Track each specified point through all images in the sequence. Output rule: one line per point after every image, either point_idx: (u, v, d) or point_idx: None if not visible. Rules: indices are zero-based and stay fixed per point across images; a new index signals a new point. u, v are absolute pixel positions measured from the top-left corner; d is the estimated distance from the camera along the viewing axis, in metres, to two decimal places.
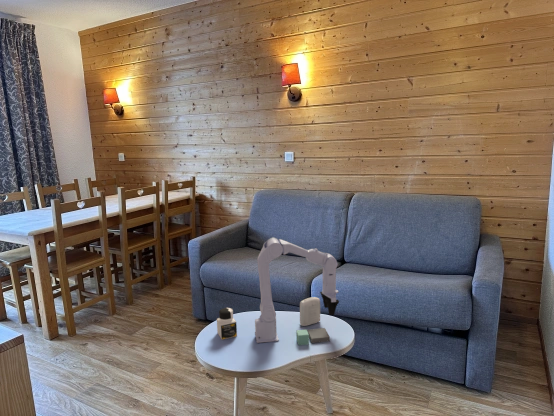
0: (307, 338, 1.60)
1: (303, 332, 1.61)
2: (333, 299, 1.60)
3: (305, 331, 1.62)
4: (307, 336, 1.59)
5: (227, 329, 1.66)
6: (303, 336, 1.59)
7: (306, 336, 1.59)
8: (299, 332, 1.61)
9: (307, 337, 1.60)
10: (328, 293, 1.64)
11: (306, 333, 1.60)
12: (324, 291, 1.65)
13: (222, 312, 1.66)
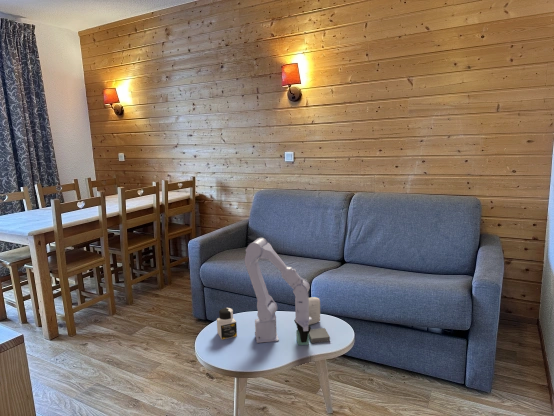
0: (307, 338, 1.60)
1: None
2: (305, 328, 1.53)
3: None
4: None
5: (227, 329, 1.66)
6: None
7: None
8: None
9: None
10: (301, 321, 1.57)
11: None
12: (297, 319, 1.59)
13: (222, 312, 1.66)
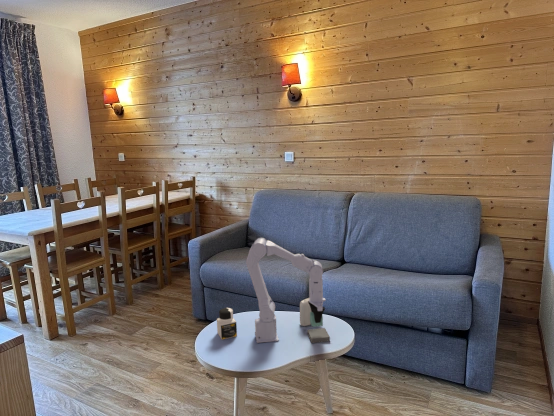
0: (321, 319, 1.61)
1: None
2: (319, 308, 1.55)
3: None
4: None
5: (227, 329, 1.66)
6: None
7: None
8: (313, 314, 1.63)
9: (321, 318, 1.61)
10: (315, 301, 1.59)
11: None
12: (311, 299, 1.60)
13: (222, 312, 1.66)
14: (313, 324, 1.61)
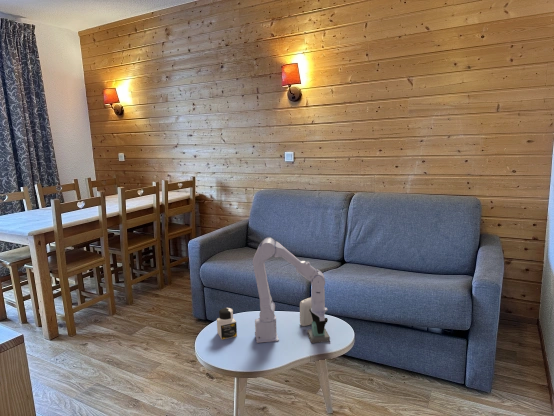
0: None
1: None
2: (321, 318, 1.56)
3: None
4: None
5: (227, 329, 1.66)
6: None
7: None
8: (315, 323, 1.64)
9: None
10: (317, 311, 1.60)
11: None
12: (313, 309, 1.62)
13: (222, 312, 1.66)
14: (315, 334, 1.63)
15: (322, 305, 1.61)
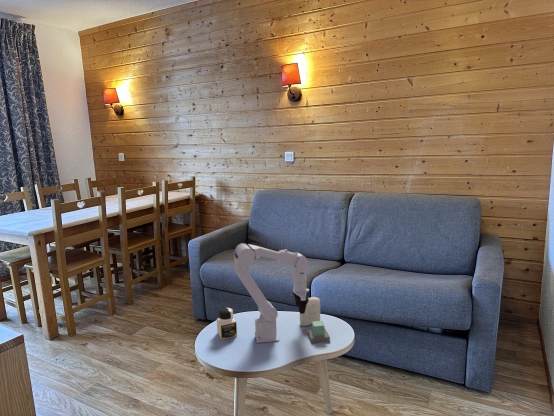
0: (323, 329, 1.63)
1: (319, 323, 1.64)
2: (302, 298, 1.61)
3: (320, 322, 1.65)
4: (323, 327, 1.63)
5: (227, 329, 1.66)
6: (319, 327, 1.62)
7: (322, 327, 1.62)
8: (315, 323, 1.64)
9: (323, 328, 1.63)
10: (298, 292, 1.65)
11: (322, 324, 1.63)
12: (295, 290, 1.67)
13: (222, 312, 1.66)
14: (315, 334, 1.63)
15: (303, 286, 1.65)
